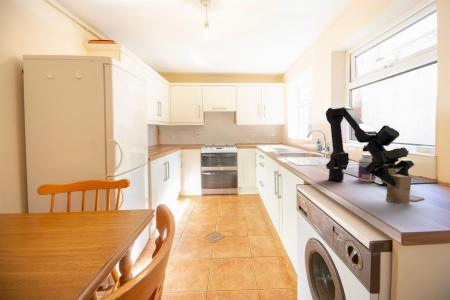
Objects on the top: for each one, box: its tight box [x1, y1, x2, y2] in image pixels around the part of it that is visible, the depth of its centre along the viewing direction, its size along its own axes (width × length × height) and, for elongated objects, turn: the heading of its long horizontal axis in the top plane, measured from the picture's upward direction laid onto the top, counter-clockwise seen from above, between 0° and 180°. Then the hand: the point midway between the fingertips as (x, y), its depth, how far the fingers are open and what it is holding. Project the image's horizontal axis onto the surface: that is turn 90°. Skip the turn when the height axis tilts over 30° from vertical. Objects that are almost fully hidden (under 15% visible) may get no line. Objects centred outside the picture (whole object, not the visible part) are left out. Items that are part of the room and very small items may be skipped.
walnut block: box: [385, 174, 412, 204], centre depth 86 cm, size 5×5×10 cm
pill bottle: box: [357, 153, 376, 183], centre depth 120 cm, size 8×8×14 cm
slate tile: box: [409, 194, 425, 203], centre depth 91 cm, size 8×8×1 cm
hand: (402, 185), depth 85 cm, fingers open, 7 cm apart
